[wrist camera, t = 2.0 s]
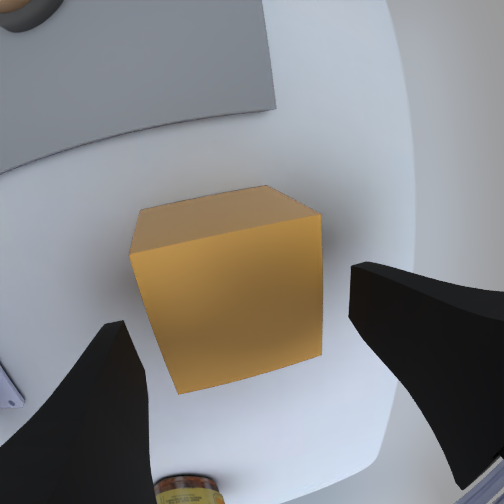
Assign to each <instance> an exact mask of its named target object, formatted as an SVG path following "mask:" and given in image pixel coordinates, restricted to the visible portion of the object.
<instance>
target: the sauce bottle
mask: <svg viewBox="0 0 504 504" xmlns="http://www.w3.org/2000/svg"><path fill="white" fill-rule="evenodd" d="M154 491H155V496H156V500H157V504H225V502H224V499H223V496H222V495H221V494H220V493H219V490H218V487H217V485H216V484H215V483H214V482H213V481H212V480H211V479H209V478H203V477H197V476H178V477H170V478H166V479H163V480H162V481H160V482H159V483H157V484H156V485H155V487H154Z"/></svg>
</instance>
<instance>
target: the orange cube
mask: <svg viewBox="0 0 504 504" xmlns="http://www.w3.org/2000/svg"><path fill="white" fill-rule="evenodd" d="M129 257H130V261H131V264H132V267H133V271H134V274H135V277H136V281H137V284H138V287H139V290H140V294H141V297H142V300H143V303H144V306H145V309H146V312H147V315H148V318H149V320H150V323H151V326H152V329H153V332H154V334H155V337H156V340H157V343H158V345H159V348H160V351H161V353H162V356H163V358H164V361H165V363H166V366H167V368H168V371H169V373H170V376H171V378H172V381H173V383H174V385H175V388H176V390H177V392H178V395H179V394H184V393H188V392H193V391H197V390H202V389H206V388H210V387H215V386H219V385H223V384H227V383H231V382H234V381H238V380H242V379H246V378H249V377H253V376H257V375H260V374H263V373H267V372H270V371H274V370H277V369H280V368H283V367H287V366H290V365H293V364H296V363H299V362H302V361H305V360H308V359H311V358H314V357H317V356H320V355H322V322H323V264H322V226H321V214H320V213H318V212H316V211H314V210H313V209H311V208H309V207H307V206H305V205H303V204H301V203H300V202H298V201H296V200H294V199H292V198H290V197H288V196H286V195H284V194H283V193H281V192H279V191H277V190H275V189H273V188H271V187H269V186H267V185H265V186H259V187H253V188H247V189H242V190H236V191H230V192H225V193H220V194H214V195H209V196H204V197H199V198H194V199H189V200H184V201H179V202H174V203H170V204H165V205H161V206H156V207H152V208H147V209H143V210H140V213H139V217H138V221H137V224H136V228H135V232H134V236H133V240H132V244H131V248H130V252H129Z"/></svg>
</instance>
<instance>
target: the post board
mask: <svg viewBox="0 0 504 504" xmlns="http://www.w3.org/2000/svg"><path fill="white" fill-rule="evenodd" d="M274 109H276V101H275V93H274V85H273V77H272V69H271V61H270V54H269V46H268V39H267V32H266V25H265V18H264V12H263V5H262V0H0V174H2V173H5V172H7V171H10V170H12V169H15V168H17V167H20V166H22V165H25V164H28V163H30V162H33V161H36V160H38V159H41V158H44V157H47V156H50V155H53V154H56V153H59V152H62V151H65V150H68V149H72V148H75V147H78V146H81V145H85V144H88V143H92V142H95V141H99V140H103V139H107V138H110V137H114V136H118V135H122V134H126V133H131V132H135V131H139V130H144V129H149V128H153V127H158V126H163V125H169V124H174V123H179V122H185V121H191V120H197V119H204V118H211V117H218V116H225V115H233V114H242V113H252V112H262V111H268V110H274Z"/></svg>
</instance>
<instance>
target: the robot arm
mask: <svg viewBox="0 0 504 504" xmlns="http://www.w3.org/2000/svg"><path fill="white" fill-rule="evenodd" d="M348 317H349V319H350V320H351V322H352V323H353V325H354V327H355V328H356V330H357V331H358V333H359V334H360V336H361V337H362V339H363V340H364V341H365V342H366V343H367V345H368V346H369V347H370V348H371V349H372V350H373V351H374V353H375V354H376V355H377V356H378V357H379V358H380V359H381V360H382V361H383V363H384V364H385V365H386V366H387V367H388V368H389V369H390V370H391V372H392V373H393V374H394V375H395V376H396V377H397V378H398V379H399V381H401V383H402V384H403V385H404V387H405V388H406V389H407V390H408V392H409V393H410V395H411V396H412V398H413V399H414V401H415V402H416V404H417V405H418V407H419V408H420V410H421V411H422V413H423V415H424V417H425V418H426V420H427V422H428V423H429V425H430V427H431V428H432V430H433V432H434V434H435V436H436V438H437V440H438V442H439V444H440V446H441V448H442V450H443V452H444V454H445V456H446V459H447V461H448V464H449V466H450V468H451V471H452V473H453V476H454V479H455V482H456V484H457V485H458V486H459V487H460V489H461V490H464V489H465V488H466V487H468V486H469V485H470V484H471V483H472V482H474V481H475V480H476V479H477V478H478V477H479V476H480V475H482V474H483V473H484V472H485V471H486V470H487V469H488V468H489V467H490V466H491V465H492V464H493V463H494V462H495V461H496V460H497V459H498V458H499V457H500V456H501V457H502V458H503V460H502V462H500V463H499V464H498V465H497V466H496V467H495V468H494V469H493V470H492V471H491V472H490V473H489V474H488V475H487V476H486V477H485V478H484V479H483V480H481V481H480V482H479V483H478V484H477V485H476V486H475V487H474V488H472V489H471V490H470V491H469V492H468V493H466V494H465V495H464V496H463V497H462V498H460V499H459V500H458V501H456V502H455V503H454V504H486V503H487V502H488V501H489V500H490V499H491V498H492V497H493V496H494V495H495V494H497V493H498V492H499V491H500V489H502V488H503V486H504V292H500V291H489V290H483V289H477V288H471V287H465V286H460V285H455V284H452V283H447V282H443V281H439V280H436V279H432V278H428V277H425V276H421V275H418V274H414V273H411V272H407V271H404V270H400V269H397V268H393V267H390V266H386V265H382V264H378V263H373V262H363V263H359V264H355V265H352V266H351V280H350V300H349V316H348ZM24 403H25V401H24V399H23V398H22V396H21V395H20V394H19V392H18V391H17V389H16V388H15V387H14V385H13V384H12V382H11V381H10V379H9V378H8V376H7V375H6V373H5V372H4V370H3V369H2V367H1V366H0V408H22V407H23V406H24ZM0 504H157V500H156V496H155V491H154V486H153V481H152V476H151V468H150V454H149V411H148V391H147V383H146V375H145V370H144V367H143V365H142V363H141V361H140V358H139V356H138V354H137V352H136V349H135V347H134V345H133V342H132V340H131V337H130V335H129V333H128V330H127V328H126V325H125V323H124V320H122V321H117V322H112V323H107V324H105V325H104V326H103V327H102V328H101V329H100V330H99V332H98V333H97V334H96V336H95V337H94V339H93V340H92V341H91V343H90V344H89V345H88V347H87V348H86V350H85V351H84V352H83V354H82V355H81V357H80V358H79V359H78V361H77V362H76V364H75V365H74V366H73V368H72V369H71V370H70V372H69V373H68V374H67V375H66V377H65V378H64V379H63V381H62V382H61V383H60V385H59V386H58V387H57V388H56V390H55V391H54V392H53V394H52V395H51V396H50V397H49V398H48V400H47V401H46V402H45V403H44V404H43V405H42V407H41V408H40V409H39V410H38V411H37V412H36V413H35V414H34V415H33V416H32V417H31V418H30V420H29V421H28V422H27V423H26V424H24V425H23V426H22V427H21V428H20V429H19V430H18V431H17V432H16V433H15V434H14V435H13V436H12V437H11V438H10V439H9V440H8V441H6V442H5V443H4V444H3V445H2V446H1V447H0ZM491 504H504V493H503V494H502V495H501V496H500V497H498V498H497V499H496V500H495V501H494V502H492V503H491Z"/></svg>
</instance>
